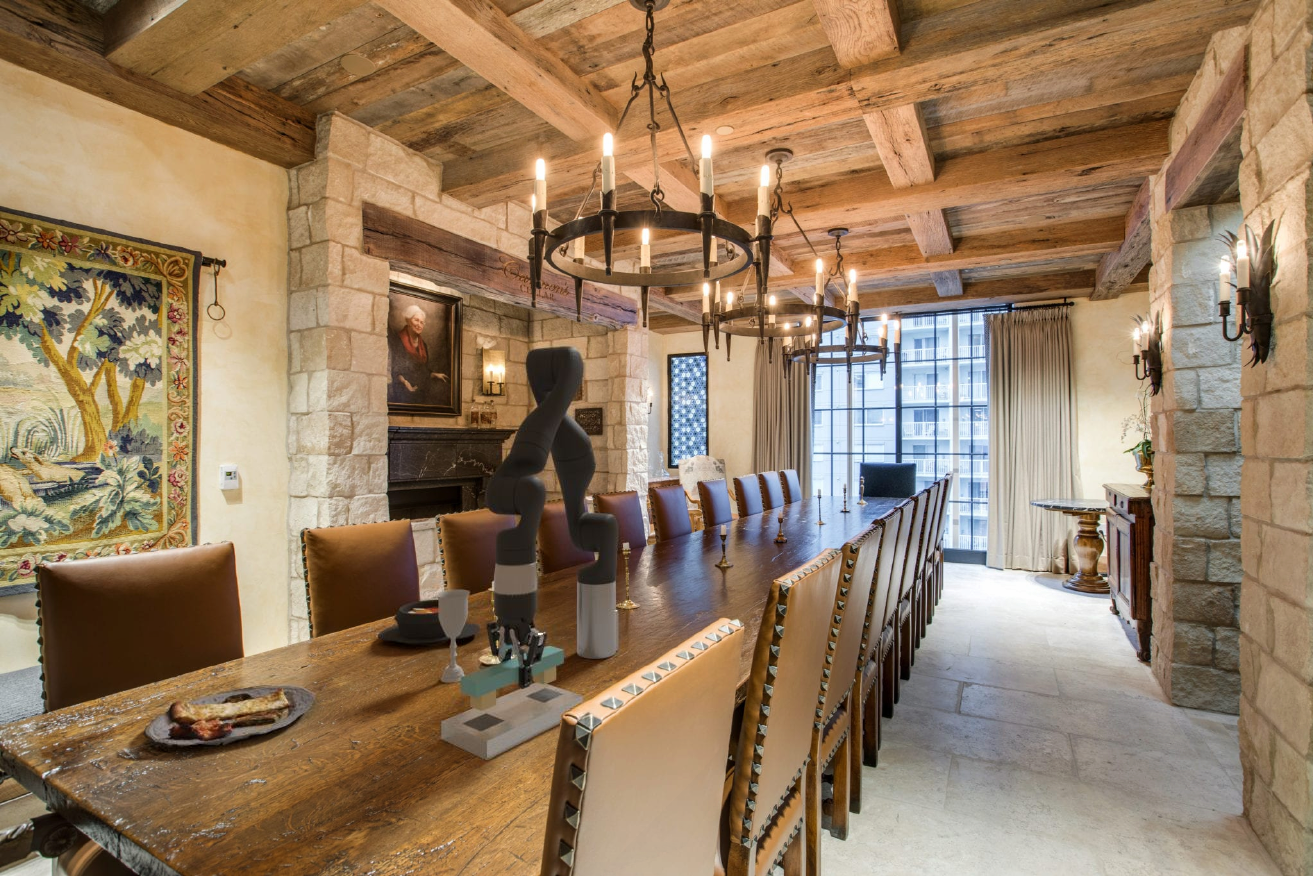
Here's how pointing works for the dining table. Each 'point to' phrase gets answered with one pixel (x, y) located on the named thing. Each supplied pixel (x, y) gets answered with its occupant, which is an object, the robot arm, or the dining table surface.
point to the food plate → (228, 715)
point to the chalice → (453, 626)
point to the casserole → (421, 625)
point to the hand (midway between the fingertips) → (515, 683)
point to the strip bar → (507, 677)
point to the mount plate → (509, 720)
